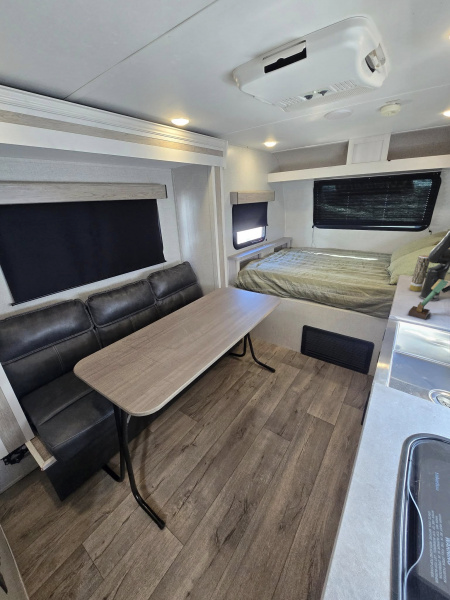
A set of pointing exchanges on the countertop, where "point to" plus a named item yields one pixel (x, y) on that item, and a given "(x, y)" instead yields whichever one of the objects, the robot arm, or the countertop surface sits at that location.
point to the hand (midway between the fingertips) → (442, 291)
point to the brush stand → (419, 311)
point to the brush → (435, 290)
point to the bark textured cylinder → (419, 273)
